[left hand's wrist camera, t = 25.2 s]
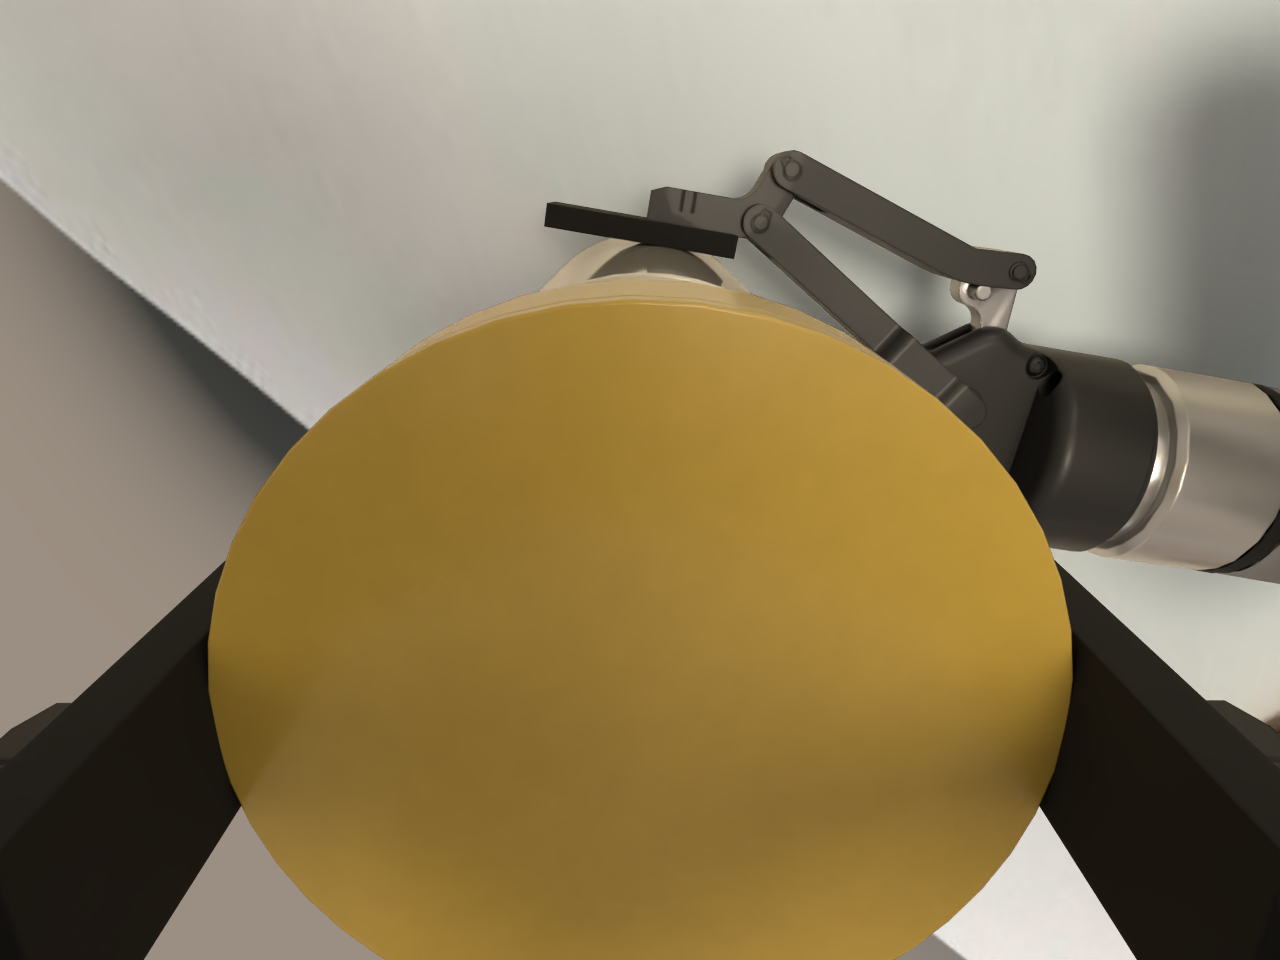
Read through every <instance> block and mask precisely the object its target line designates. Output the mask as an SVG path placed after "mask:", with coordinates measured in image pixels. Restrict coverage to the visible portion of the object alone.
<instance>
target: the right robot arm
mask: <svg viewBox="0 0 1280 960" xmlns="http://www.w3.org/2000/svg"><path fill="white" fill-rule="evenodd" d="M792 199H795V200H797V201H799V202H800V203H802V204H804V205H806V206H808V207H810V208H812V209H813V210H815V211H817V212H819V213H821V214H823V215H824V216H826V217H828V218H830V219H832V220H834V221H836V222H837V223H839V224H841V225H843V226H845V227H847V228H849V229H850V230H852V231H854V232H856V233H858V234H860V235H861V236H863V237H865V238H867V239H869V240H871V241H873V242H874V243H876V244H878V245H880V246H882V247H884V248H886V249H887V250H889V251H891V252H893V253H895V254H897V255H898V256H900V257H902V258H904V259H906V260H908V261H910V262H911V263H913V264H915V265H917V266H919V267H921V268H923V269H925V270H927V271H929V272H931V273H934V274H937V275H941V276H944V277H947V278H950V279H952V280H951V285H950V292H951V295H952V297H953V299H954V300H956V301H957V302H959V303H962V304H964V305H965V306H967V307H968V308H969V310H970V312H971V323H969V324H966V325H964V326H962V327H959V328H957V329H955V330H953V331H951V332H949V333H947V334H945V335H942V336H940V337H938V338H936V339H934V340H932V341H930V342H928V343H925V344H923V345H921V344H920V343H919V342H918V341H917V340H916V339H915V338H914V337H913V336H912V335H910V334H909V333H908V332H907V331H905V330H904V329H903V328H902V327H900V326H899V325H898V324H897V323H896V322H895V321H894V320H893V319H892V318H891V317H890V316H888V315H887V314H886V313H885V312H884V311H883V310H882V309H881V308H880V307H879V306H878V305H877V304H876V303H874V302H873V301H872V300H871V299H870V298H869V297H868V296H867V295H866V294H865V293H864V292H863V291H862V290H860V289H859V288H858V287H857V286H856V285H855V284H854V283H853V282H852V281H851V280H850V279H849V278H848V277H846V276H845V275H844V274H843V273H842V272H841V271H840V270H839V269H838V268H837V267H836V266H835V265H834V264H832V263H831V262H830V261H829V260H828V259H827V258H826V257H825V256H824V255H823V254H822V253H821V252H820V251H818V250H817V249H816V248H815V247H814V246H813V245H812V244H811V243H810V242H809V241H808V240H807V239H806V238H804V237H803V236H802V235H801V234H800V233H799V232H798V231H797V230H796V229H795V228H794V227H793V226H792V225H791V224H789V223H788V222H787V221H786V220H785V219H784V218H783V217H782V216H783V214H784V213H785V211H786V209H787V208H788V206H789V204H790V203H791V201H792ZM544 226H545V227H551V228H557V229H563V230H569V231H574V232H580V233H586V234H592V235H598V236H603V237H609V238H615V239H621V240H627V241H632V242H638V243H644V244H650V245H656V246H662V247H667V248H673V249H679V250H685V251H691V252H696V253H702V254H708V255H714V256H720V257H725V258H731V259H734V256H735V251H736V246H737V241H738V237H742V238H747V239H748V240H749V241H750V242H751V243H752V244H753V245H754V246H755V247H757V248H758V249H759V250H760V251H761V252H762V253H763V254H764V255H765V256H766V257H768V258H769V259H770V260H771V261H772V262H773V263H774V264H775V265H776V266H777V267H779V268H780V269H781V270H782V271H783V272H784V273H785V274H786V275H787V276H788V277H790V278H791V279H792V280H793V281H794V282H795V283H796V284H797V285H798V286H799V287H801V288H802V289H803V290H804V291H805V292H806V293H807V294H808V295H809V296H810V297H812V298H813V299H814V300H815V301H816V302H817V303H818V304H819V305H820V306H821V307H823V308H824V309H825V310H826V311H827V312H828V313H829V314H830V315H831V316H832V317H834V318H835V319H836V320H837V321H838V322H839V323H840V324H841V325H842V326H843V327H844V328H846V329H847V330H848V331H849V332H850V333H851V334H852V335H853V336H854V337H855V338H857V339H858V340H859V341H860V342H861V343H862V344H863V345H864V346H866V347H867V348H868V349H870V350H871V351H873V352H874V353H876V354H877V355H879V356H880V357H882V358H883V359H885V360H886V361H888V362H889V363H890V364H892V365H893V366H894V367H896V368H897V369H898V370H900V371H901V372H902V373H904V374H905V375H906V376H908V377H909V378H910V379H912V380H913V381H914V382H916V383H917V384H919V385H920V386H921V387H923V388H924V389H925V390H927V391H928V392H929V393H931V394H932V395H933V396H935V397H936V398H937V399H938V400H939V401H940V402H942V403H943V404H944V405H945V406H946V407H947V408H948V409H949V410H950V411H951V412H952V413H953V414H955V415H956V416H957V417H958V418H959V419H960V420H961V421H962V422H963V423H964V424H965V425H966V426H968V427H969V428H970V429H971V430H972V431H973V432H974V433H975V434H976V435H977V436H978V437H979V438H981V440H982V441H983V442H984V443H985V445H986V446H987V447H988V448H989V450H990V451H991V452H992V453H993V455H994V456H995V457H996V458H997V460H998V461H999V462H1000V463H1001V465H1002V466H1003V467H1004V468H1005V470H1006V471H1007V472H1008V473H1009V475H1010V476H1011V477H1012V479H1013V480H1014V481H1015V482H1016V484H1017V485H1018V487H1019V489H1020V491H1021V492H1022V494H1023V496H1024V498H1025V500H1026V501H1027V503H1028V505H1029V507H1030V508H1031V510H1032V512H1033V514H1034V515H1035V517H1036V519H1037V521H1038V522H1039V524H1040V526H1041V528H1042V529H1043V532H1044V534H1045V537H1046V540H1047V542H1048V545H1049V548H1055V549H1061V550H1068V551H1079V552H1080V551H1086V550H1088V551H1089V552H1091V553H1094V554H1096V555H1099V556H1102V557H1109V558H1117V559H1124V560H1131V561H1138V562H1145V563H1152V564H1160V565H1167V566H1174V567H1181V568H1188V569H1194V570H1198V571H1203V572H1209V573H1220V574H1226V575H1231V576H1237V577H1243V578H1249V579H1254V580H1260V581H1266V582H1272V583H1277V584H1280V389H1276V388H1270V387H1265V386H1262V385H1258V384H1253V383H1247V382H1242V381H1236V380H1230V379H1225V378H1219V377H1213V376H1208V375H1202V374H1196V373H1191V372H1185V371H1179V370H1174V369H1168V368H1162V367H1157V366H1151V365H1144V364H1137V365H1129V364H1128V363H1126V362H1124V361H1121V360H1117V359H1112V358H1106V357H1101V356H1095V355H1089V354H1083V353H1077V352H1071V351H1065V350H1059V349H1053V348H1047V347H1041V346H1035V345H1029V344H1025V343H1021V342H1020V341H1018V340H1017V339H1016V338H1015V337H1014V336H1013V335H1012V334H1011V333H1009V332H1008V331H1007V327H1008V323H1009V319H1010V315H1011V311H1012V308H1013V304H1014V300H1015V296H1016V292H1017V289H1022V288H1024V287H1026V286H1028V285H1029V284H1030V283H1031V282H1032V281H1033V279H1034V277H1035V275H1036V264H1035V261H1034V260H1033V259H1032V258H1031V257H1030V256H1028V255H1025V254H1020V253H1015V252H1009V251H1003V250H997V249H990V248H982V247H973V246H970V245H968V244H967V243H965V242H963V241H961V240H959V239H958V238H956V237H954V236H952V235H950V234H948V233H947V232H945V231H943V230H941V229H939V228H938V227H936V226H934V225H932V224H930V223H929V222H927V221H925V220H923V219H921V218H919V217H918V216H916V215H914V214H912V213H910V212H909V211H907V210H905V209H903V208H901V207H900V206H898V205H896V204H894V203H892V202H890V201H889V200H887V199H885V198H883V197H881V196H880V195H878V194H876V193H874V192H872V191H871V190H869V189H867V188H865V187H863V186H861V185H860V184H858V183H856V182H854V181H852V180H851V179H849V178H847V177H845V176H843V175H841V174H840V173H838V172H836V171H834V170H832V169H831V168H829V167H827V166H825V165H823V164H822V163H820V162H818V161H816V160H814V159H812V158H811V157H809V156H807V155H805V154H803V153H802V152H799V151H795V150H792V151H785V152H781V153H778V154H775V155H773V156H772V157H770V158H769V159H768V161H767V162H766V163H765V167H764V170H763V172H762V173H761V175H760V177H759V178H758V180H757V182H756V184H755V185H754V187H753V188H752V190H751V191H750V192H749V193H748V194H746V195H745V196H743V197H740V198H728V197H722V196H716V195H711V194H705V193H699V192H694V191H688V190H682V189H677V188H671V187H663V188H659V189H655V190H651V194H650V201H649V207H648V213H647V218H646V217H640V216H635V215H629V214H623V213H617V212H612V211H606V210H600V209H594V208H589V207H583V206H577V205H571V204H565V203H560V202H551V203H547V208H546V216H545V225H544Z"/></svg>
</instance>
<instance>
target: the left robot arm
mask: <svg viewBox="0 0 1280 960" xmlns="http://www.w3.org/2000/svg"><path fill="white" fill-rule="evenodd" d="M1054 561H1055V560H1054ZM225 562H226V561H225ZM225 562H223V563H222V564H221V565H220V566H219V567H218V568H217V569H216V570H215V571H214V572H213V573H212V574H211V575H209V576H208V577H207V578H206V579H205V580H204V581H203V582H202V583H201V584H200V585H199V586H198V587H197V588H195V589H194V590H193V591H192V592H191V593H190V594H189V595H188V596H187V597H186V598H185V599H184V600H182V601H181V602H180V603H179V604H178V605H177V606H176V607H175V608H174V609H173V610H172V611H171V612H170V613H168V614H167V615H166V616H165V617H164V618H163V619H162V620H161V621H160V622H159V623H158V624H157V625H156V626H154V627H153V628H152V629H151V630H150V631H149V632H148V633H147V634H146V635H145V636H144V637H143V638H141V639H140V640H139V641H138V642H137V643H136V644H135V645H134V646H133V647H132V648H131V649H130V650H129V651H127V652H126V653H125V654H124V655H123V656H122V657H121V658H120V659H119V660H118V661H117V662H116V663H115V664H113V665H112V666H111V667H110V668H109V669H108V670H107V671H106V672H105V673H104V674H103V675H102V676H101V677H99V678H98V679H97V680H96V681H95V682H94V683H93V684H92V685H91V686H90V687H89V688H88V689H86V690H85V691H84V692H83V693H82V694H81V695H80V696H79V697H78V698H77V699H76V700H75V701H74V702H72V703H56V704H54V705H53V706H51V707H49V708H47V709H46V710H44V711H42V712H40V713H38V714H37V715H35V716H33V717H31V718H30V719H28V720H26V721H24V722H23V723H21V724H19V725H17V726H15V727H14V728H12V729H11V730H9V731H8V732H7V733H6V734H5V735H4V736H3V737H2V738H0V960H144V958H145V957H146V955H147V954H148V952H149V951H150V949H151V947H152V946H153V944H154V943H155V941H156V939H157V938H158V936H159V935H160V933H161V932H162V930H163V928H164V927H165V925H166V924H167V922H168V921H169V919H170V917H171V916H172V914H173V913H174V911H175V909H176V908H177V906H178V905H179V903H180V901H181V900H182V898H183V897H184V895H185V894H186V892H187V891H188V889H189V887H190V886H191V884H192V883H193V881H194V880H195V878H196V876H197V875H198V873H199V872H200V870H201V868H202V867H203V865H204V864H205V862H206V861H207V859H208V857H209V856H210V854H211V853H212V851H213V850H214V848H215V846H216V845H217V843H218V842H219V840H220V838H221V837H222V835H223V834H224V832H225V831H226V829H227V827H228V826H229V824H230V823H231V821H232V820H233V818H234V816H235V815H236V813H237V812H238V810H239V808H240V807H241V804H240V802H239V800H238V798H237V795H236V793H235V791H234V789H233V787H232V785H231V783H230V780H229V777H228V774H227V771H226V768H225V764H224V760H223V756H222V752H221V748H220V743H219V739H218V734H217V730H216V725H215V720H214V716H213V711H212V706H211V701H210V696H209V691H208V639H209V632H210V626H211V619H212V613H213V607H214V600H215V594H216V590H217V587H218V584H219V580H220V577H221V574H222V571H223V568H224V565H225ZM1055 564H1056V567H1057V569H1058V572H1059V575H1060V577H1061V581H1062V586H1063V591H1064V596H1065V601H1066V606H1067V611H1068V616H1069V621H1070V626H1071V639H1072V667H1073V682H1072V691H1071V699H1070V704H1069V709H1068V714H1067V719H1066V724H1065V729H1064V733H1063V738H1062V742H1061V746H1060V750H1059V754H1058V759H1057V763H1056V767H1055V771H1054V774H1053V776H1052V778H1051V780H1050V783H1049V785H1048V787H1047V789H1046V792H1045V794H1044V796H1043V798H1042V801H1041V803H1040V805H1039V806H1040V808H1041V809H1042V811H1043V812H1044V814H1045V816H1046V817H1047V819H1048V820H1049V822H1050V823H1051V825H1052V827H1053V828H1054V830H1055V831H1056V833H1057V834H1058V836H1059V838H1060V839H1061V841H1062V842H1063V844H1064V846H1065V847H1066V849H1067V850H1068V852H1069V853H1070V855H1071V857H1072V858H1073V860H1074V861H1075V863H1076V864H1077V866H1078V868H1079V869H1080V871H1081V872H1082V874H1083V876H1084V877H1085V879H1086V880H1087V882H1088V883H1089V885H1090V887H1091V888H1092V890H1093V891H1094V893H1095V894H1096V896H1097V898H1098V899H1099V901H1100V902H1101V904H1102V906H1103V907H1104V909H1105V910H1106V912H1107V913H1108V915H1109V917H1110V918H1111V920H1112V921H1113V923H1114V924H1115V926H1116V928H1117V929H1118V931H1119V932H1120V934H1121V936H1122V937H1123V939H1124V940H1125V942H1126V943H1127V945H1128V947H1129V948H1130V950H1131V951H1132V953H1133V954H1134V956H1135V958H1136V959H1137V960H1280V734H1279V733H1278V732H1276V731H1275V730H1274V729H1273V728H1272V727H1271V726H1269V725H1267V724H1266V723H1264V722H1262V721H1260V720H1258V719H1257V718H1255V717H1253V716H1251V715H1250V714H1248V713H1246V712H1244V711H1243V710H1241V709H1239V708H1237V707H1235V706H1234V705H1232V704H1230V703H1228V702H1227V701H1225V700H1205V699H1204V698H1203V697H1202V696H1201V695H1199V694H1198V693H1197V692H1196V691H1195V690H1194V689H1193V688H1192V687H1191V686H1190V685H1189V684H1188V683H1187V682H1185V681H1184V680H1183V679H1182V678H1181V677H1180V676H1179V675H1178V674H1177V673H1176V672H1175V671H1174V670H1173V669H1171V668H1170V667H1169V666H1168V665H1167V664H1166V663H1165V662H1164V661H1163V660H1162V659H1161V658H1160V657H1158V656H1157V655H1156V654H1155V653H1154V652H1153V651H1152V650H1151V649H1150V648H1149V647H1148V646H1147V645H1146V644H1144V643H1143V642H1142V641H1141V640H1140V639H1139V638H1138V637H1137V636H1136V635H1135V634H1134V633H1133V632H1132V631H1130V630H1129V629H1128V628H1127V627H1126V626H1125V625H1124V624H1123V623H1122V622H1121V621H1120V620H1119V619H1118V618H1116V617H1115V616H1114V615H1113V614H1112V613H1111V612H1110V611H1109V610H1108V609H1107V608H1106V607H1105V606H1103V605H1102V604H1101V603H1100V602H1099V601H1098V600H1097V599H1096V598H1095V597H1094V596H1093V595H1092V594H1091V593H1089V592H1088V591H1087V590H1086V589H1085V588H1084V587H1083V586H1082V585H1081V584H1080V583H1079V582H1078V581H1077V580H1075V579H1074V578H1073V577H1072V576H1071V575H1070V574H1069V573H1068V572H1067V571H1066V570H1065V569H1064V568H1062V567H1061V566H1060V565H1059V564H1058V563H1057V562H1056V561H1055Z"/></svg>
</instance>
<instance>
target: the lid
mask: <svg viewBox="0 0 1280 960" xmlns="http://www.w3.org/2000/svg"><path fill="white" fill-rule="evenodd" d="M1072 682H1073V667H1072V639H1071V626H1070V621H1069V616H1068V611H1067V606H1066V601H1065V596H1064V591H1063V586H1062V581H1061V577H1060V575H1059V572H1058V569H1057V567H1056V564H1055V561H1054V558H1053V556H1052V553H1051V550H1050V548H1049V545H1048V542H1047V540H1046V537H1045V534H1044V532H1043V529H1042V528H1041V526H1040V524H1039V522H1038V521H1037V519H1036V517H1035V515H1034V514H1033V512H1032V510H1031V508H1030V507H1029V505H1028V503H1027V501H1026V500H1025V498H1024V496H1023V494H1022V492H1021V491H1020V489H1019V487H1018V485H1017V484H1016V482H1015V481H1014V480H1013V479H1012V477H1011V476H1010V475H1009V473H1008V472H1007V471H1006V470H1005V468H1004V467H1003V466H1002V465H1001V463H1000V462H999V461H998V460H997V458H996V457H995V456H994V455H993V453H992V452H991V451H990V450H989V448H988V447H987V446H986V445H985V443H984V442H983V441H982V440H981V438H979V437H978V436H977V435H976V434H975V433H974V432H973V431H972V430H971V429H970V428H969V427H968V426H966V425H965V424H964V423H963V422H962V421H961V420H960V419H959V418H958V417H957V416H956V415H955V414H953V413H952V412H951V411H950V410H949V409H948V408H947V407H946V406H945V405H944V404H943V403H942V402H940V401H939V400H938V399H937V398H936V397H935V396H933V395H932V394H931V393H929V392H928V391H927V390H925V389H924V388H923V387H921V386H920V385H919V384H917V383H916V382H914V381H913V380H912V379H910V378H909V377H908V376H906V375H905V374H904V373H902V372H901V371H900V370H898V369H897V368H896V367H894V366H893V365H892V364H890V363H889V362H888V361H886V360H885V359H883V358H882V357H880V356H879V355H877V354H876V353H874V352H873V351H871V350H870V349H868V348H867V347H866V346H864V345H863V344H861V343H860V342H858V341H857V340H855V339H854V338H852V337H851V336H849V335H848V334H846V333H844V332H842V331H840V330H838V329H836V328H834V327H832V326H830V325H828V324H826V323H824V322H822V321H820V320H818V319H816V318H814V317H812V316H810V315H808V314H806V313H804V312H802V311H800V310H798V309H794V308H791V307H788V306H785V305H782V304H779V303H776V302H773V301H770V300H767V299H764V298H761V297H758V296H755V295H752V294H749V293H746V292H742V291H736V290H731V289H725V288H720V287H715V286H709V285H704V284H698V283H693V282H683V281H662V280H642V279H627V280H615V281H603V282H592V283H580V284H573V285H568V286H564V287H559V288H555V289H550V290H546V291H542V292H537V293H533V294H528V295H524V296H520V297H517V298H514V299H512V300H509V301H506V302H504V303H501V304H498V305H496V306H493V307H490V308H488V309H485V310H482V311H479V312H477V313H474V314H471V315H469V316H467V317H465V318H463V319H461V320H460V321H458V322H456V323H454V324H452V325H450V326H448V327H447V328H445V329H443V330H441V331H439V332H437V333H435V334H434V335H432V336H430V337H428V338H426V339H424V340H422V341H421V342H419V343H418V344H417V345H415V346H414V347H413V348H411V349H410V350H409V351H407V352H406V353H405V354H403V355H402V356H401V357H399V358H398V359H396V360H395V361H394V362H392V363H391V364H390V365H388V366H387V367H386V368H384V369H383V370H382V371H380V372H379V373H378V374H376V375H375V376H374V377H372V378H371V379H370V380H368V381H367V382H366V383H364V384H363V385H362V386H360V387H359V388H358V389H356V390H355V391H354V392H352V393H351V394H350V395H348V396H347V397H346V398H344V399H343V400H342V401H340V402H339V403H338V404H336V405H335V406H334V407H332V408H331V409H330V410H329V411H328V412H327V413H326V414H325V415H324V416H323V417H322V418H321V419H320V420H319V421H318V422H317V423H316V424H315V425H314V426H313V427H312V428H311V429H310V430H309V431H308V432H307V433H306V434H305V435H304V436H303V437H302V438H301V439H300V440H299V441H298V442H297V443H296V444H295V445H294V446H293V447H292V448H291V449H290V450H289V451H288V453H287V454H286V455H285V457H284V458H283V459H282V461H281V462H280V464H279V465H278V466H277V468H276V469H275V470H274V472H273V473H272V474H271V476H270V477H269V478H268V480H267V481H266V483H265V484H264V485H263V487H262V488H261V489H260V491H259V492H258V494H257V495H256V497H255V499H254V501H253V502H252V504H251V506H250V508H249V510H248V512H247V514H246V516H245V518H244V520H243V522H242V524H241V526H240V528H239V530H238V532H237V534H236V536H235V538H234V540H233V541H232V544H231V547H230V550H229V553H228V556H227V559H226V562H225V565H224V568H223V571H222V574H221V577H220V580H219V584H218V587H217V590H216V594H215V600H214V607H213V613H212V619H211V626H210V632H209V639H208V691H209V696H210V701H211V706H212V711H213V716H214V720H215V725H216V730H217V734H218V739H219V743H220V748H221V752H222V756H223V760H224V764H225V768H226V771H227V774H228V777H229V780H230V783H231V785H232V787H233V789H234V791H235V793H236V795H237V798H238V800H239V802H240V804H241V806H242V808H243V810H244V812H245V814H246V816H247V818H248V820H249V822H250V824H251V826H252V827H253V829H254V830H255V832H256V833H257V835H258V836H259V838H260V839H261V841H262V842H263V844H264V845H265V847H266V848H267V850H268V851H269V853H270V854H271V856H272V857H273V859H274V860H275V862H276V863H277V864H278V865H279V867H280V868H281V869H282V870H283V871H284V872H285V873H286V875H287V876H288V877H289V878H290V879H291V880H292V881H293V883H294V884H295V885H296V886H297V887H298V888H299V889H300V891H301V892H302V893H303V894H304V895H305V896H306V897H307V898H308V899H309V900H310V901H311V902H312V903H313V904H314V905H315V906H316V907H318V908H319V909H320V910H321V911H322V912H323V913H324V914H325V915H326V916H327V917H329V918H330V919H331V920H332V921H333V922H334V923H335V924H336V925H337V926H339V927H340V928H341V929H342V930H343V931H345V932H346V933H348V934H349V935H350V936H352V937H353V938H355V939H356V940H357V941H359V942H360V943H362V944H363V945H364V946H366V947H367V948H369V949H370V950H371V951H373V952H374V953H376V954H377V955H378V956H380V957H382V958H383V959H385V960H895V959H896V958H898V957H900V956H901V955H903V954H905V953H906V952H908V951H910V950H911V949H913V948H914V947H915V946H917V945H918V944H919V943H921V942H922V941H923V940H925V939H926V938H927V937H929V936H930V935H931V934H932V933H934V932H935V931H936V930H938V929H939V928H940V927H942V926H943V925H944V924H946V923H947V922H948V921H949V920H950V919H951V918H952V917H954V916H955V915H956V914H957V913H958V912H959V911H960V910H961V909H962V908H963V907H964V906H965V905H966V904H967V903H968V902H969V901H970V900H971V899H972V898H973V897H974V896H975V895H976V894H977V893H979V892H980V891H981V890H982V889H983V887H984V886H985V885H986V884H987V882H988V881H989V880H990V879H991V877H992V876H993V875H994V874H995V873H996V871H997V870H998V869H999V868H1000V866H1001V865H1002V864H1003V863H1004V862H1005V860H1006V859H1007V858H1008V857H1009V855H1010V854H1011V853H1012V851H1013V850H1014V848H1015V846H1016V845H1017V843H1018V842H1019V840H1020V838H1021V837H1022V835H1023V833H1024V832H1025V830H1026V829H1027V827H1028V825H1029V824H1030V822H1031V821H1032V819H1033V817H1034V816H1035V814H1036V812H1037V810H1038V807H1039V805H1040V803H1041V801H1042V798H1043V796H1044V794H1045V792H1046V789H1047V787H1048V785H1049V783H1050V780H1051V778H1052V776H1053V774H1054V771H1055V767H1056V763H1057V759H1058V754H1059V750H1060V746H1061V742H1062V738H1063V733H1064V729H1065V724H1066V719H1067V714H1068V709H1069V704H1070V699H1071V691H1072Z"/></svg>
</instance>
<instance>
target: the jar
mask: <svg viewBox="0 0 1280 960" xmlns="http://www.w3.org/2000/svg"><path fill="white" fill-rule="evenodd" d="M627 279H642V280H662V281H683V282H693V283H698V284H704V285H709V286H715V287H720V288H725V289H731V290H736V291H742V292H746V293H749V294H751V293H750V292H749V291H748V290H747V289H746V288H745V287H744V286H743V285H742V284H741V283H740V282H739V281H738V280H737V279H736V278H735V277H734V276H733V275H732V274H731V273H730V272H729V271H728V270H727V269H726V268H725V267H724V266H723V265H721V264H720V263H719V262H718V261H717V260H716V259H715V258H714V257H712V256H711V255H708V254H702V253H696V252H691V251H685V250H679V249H673V248H667V247H662V246H656V245H650V244H644V243H638V242H632V241H627V240H621V239H615V238H609V239H606V240H604V241H601V242H598V243H596V244H594V245H592V246H590V247H589V248H587V249H585V250H583V251H582V252H580V253H579V254H578V255H576V256H575V257H573V258H572V259H571V260H570V261H569V262H568V263H567V264H566V265H565V266H564V267H562V268H561V269H560V270H559V271H558V272H557V273H556V274H555V275H554V276H553V277H552V278H551V279H550V280H549V281H548V282H547V283H546V284H545V285H544V286H543V287H542V288H541V289H540V290H539V291H538V292H542V291H546V290H550V289H555V288H559V287H564V286H568V285H573V284H580V283H592V282H603V281H615V280H627Z"/></svg>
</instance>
